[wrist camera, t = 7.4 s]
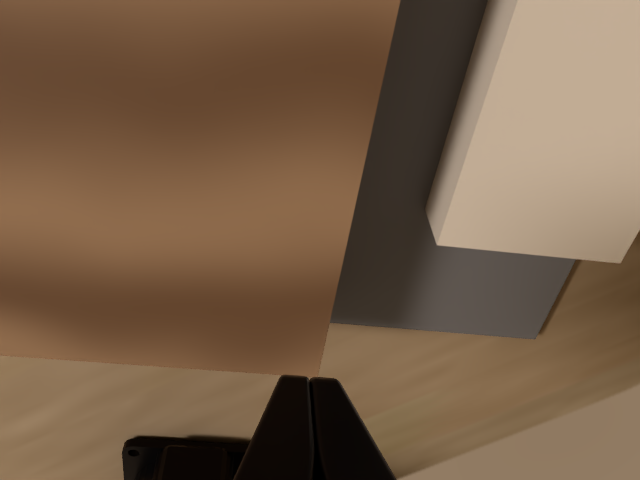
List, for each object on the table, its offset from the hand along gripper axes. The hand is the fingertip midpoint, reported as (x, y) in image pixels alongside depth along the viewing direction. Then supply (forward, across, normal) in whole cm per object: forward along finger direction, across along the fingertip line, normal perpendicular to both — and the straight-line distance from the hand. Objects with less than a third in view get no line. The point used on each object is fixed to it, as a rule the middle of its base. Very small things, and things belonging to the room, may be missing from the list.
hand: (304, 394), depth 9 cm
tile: (+9, -8, -2) cm, 12 cm away
